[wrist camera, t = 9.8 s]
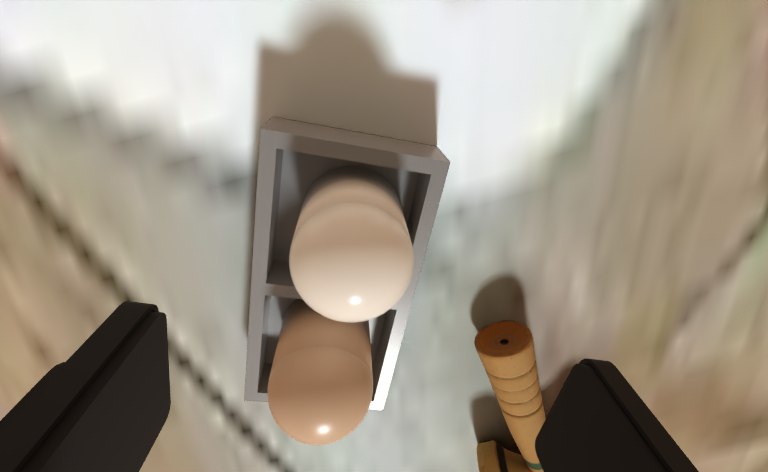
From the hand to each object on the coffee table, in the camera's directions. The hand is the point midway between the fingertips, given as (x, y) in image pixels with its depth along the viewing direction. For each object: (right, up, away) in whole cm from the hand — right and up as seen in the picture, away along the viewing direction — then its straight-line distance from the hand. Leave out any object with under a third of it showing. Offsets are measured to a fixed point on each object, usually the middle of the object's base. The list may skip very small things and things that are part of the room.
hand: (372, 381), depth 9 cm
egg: (-1, +4, +8) cm, 10 cm away
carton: (-2, +2, +10) cm, 11 cm away
